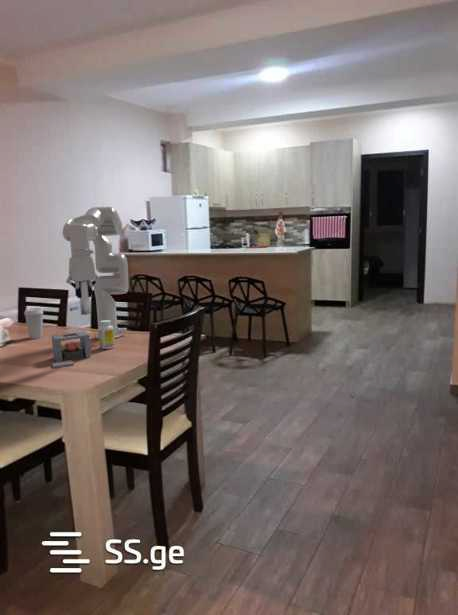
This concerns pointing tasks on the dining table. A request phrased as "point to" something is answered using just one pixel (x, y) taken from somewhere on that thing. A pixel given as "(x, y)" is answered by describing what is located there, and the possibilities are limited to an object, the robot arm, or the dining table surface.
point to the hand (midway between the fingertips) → (84, 296)
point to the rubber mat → (62, 364)
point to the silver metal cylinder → (84, 298)
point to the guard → (71, 355)
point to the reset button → (71, 346)
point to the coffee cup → (34, 322)
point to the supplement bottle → (106, 335)
